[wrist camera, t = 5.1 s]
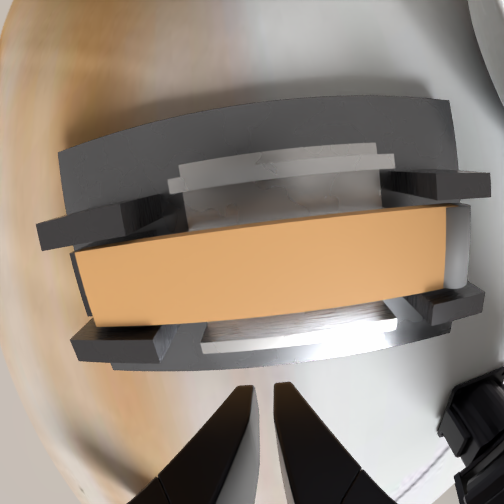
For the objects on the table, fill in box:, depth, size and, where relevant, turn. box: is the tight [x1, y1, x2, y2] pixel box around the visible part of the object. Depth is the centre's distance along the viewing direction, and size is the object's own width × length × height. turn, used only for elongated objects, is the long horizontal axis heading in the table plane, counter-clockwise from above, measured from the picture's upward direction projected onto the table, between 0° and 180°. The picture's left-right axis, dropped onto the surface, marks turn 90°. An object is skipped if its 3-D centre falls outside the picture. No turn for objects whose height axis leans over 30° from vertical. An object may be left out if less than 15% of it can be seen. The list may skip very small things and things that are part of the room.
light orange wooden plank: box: [75, 203, 471, 327], centre depth 11 cm, size 17×4×2 cm, turn 98°
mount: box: [36, 96, 491, 371], centre depth 13 cm, size 22×14×6 cm, turn 98°
